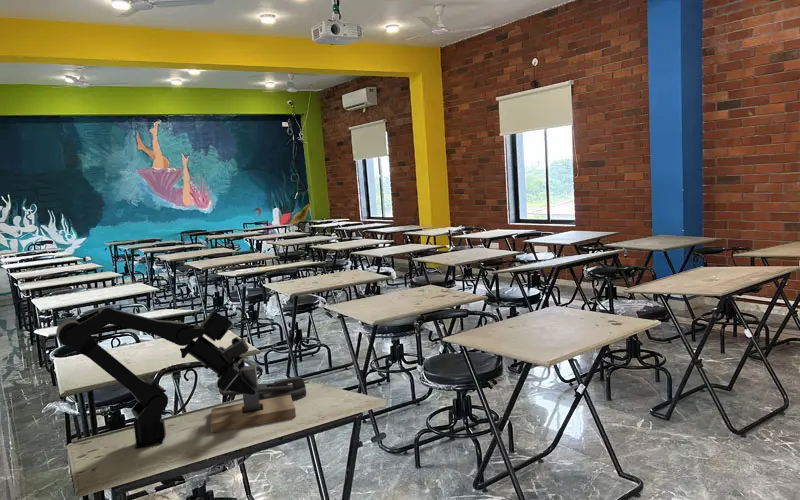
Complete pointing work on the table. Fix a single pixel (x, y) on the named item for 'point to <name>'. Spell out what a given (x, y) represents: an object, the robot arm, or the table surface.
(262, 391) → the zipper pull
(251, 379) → the dark grey square post
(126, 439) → the table surface
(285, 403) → the post foot
